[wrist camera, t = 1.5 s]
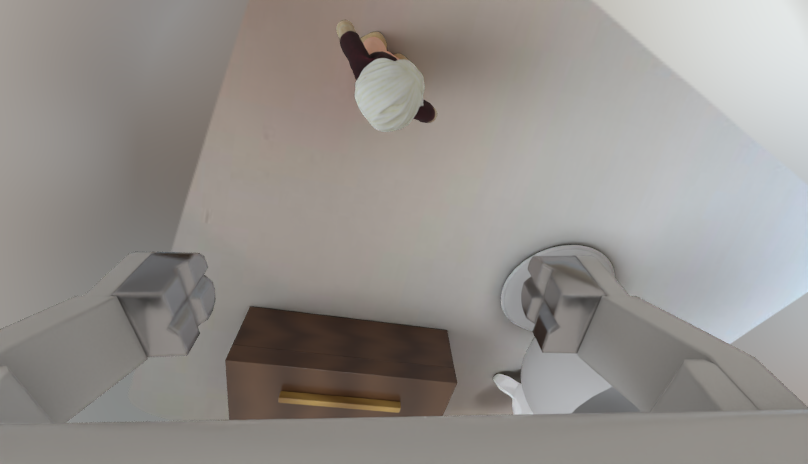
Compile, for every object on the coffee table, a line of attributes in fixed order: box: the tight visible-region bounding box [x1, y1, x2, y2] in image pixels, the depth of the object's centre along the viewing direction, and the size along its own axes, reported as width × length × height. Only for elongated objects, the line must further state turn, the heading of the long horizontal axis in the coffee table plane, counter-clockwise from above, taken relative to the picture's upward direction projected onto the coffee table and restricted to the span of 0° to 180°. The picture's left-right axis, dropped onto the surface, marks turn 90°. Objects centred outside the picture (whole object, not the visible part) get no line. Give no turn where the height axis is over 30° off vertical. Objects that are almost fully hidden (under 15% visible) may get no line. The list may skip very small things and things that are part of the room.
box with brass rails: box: [225, 307, 457, 420], centre depth 41 cm, size 22×16×8 cm
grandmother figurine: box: [336, 20, 437, 132], centre depth 21 cm, size 8×4×13 cm, turn 58°
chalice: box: [501, 245, 641, 414], centre depth 33 cm, size 14×14×15 cm
